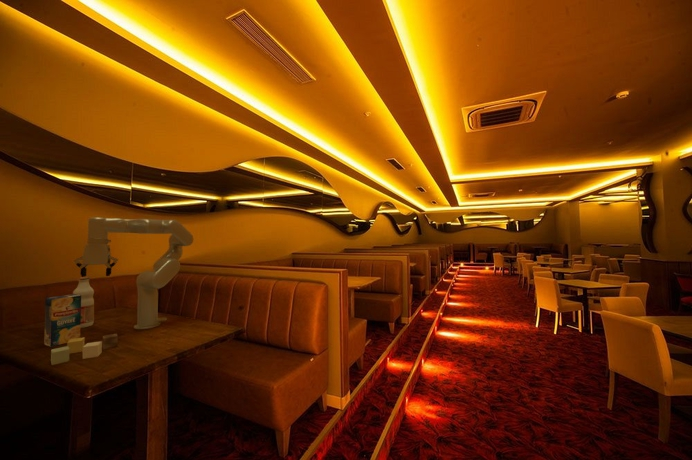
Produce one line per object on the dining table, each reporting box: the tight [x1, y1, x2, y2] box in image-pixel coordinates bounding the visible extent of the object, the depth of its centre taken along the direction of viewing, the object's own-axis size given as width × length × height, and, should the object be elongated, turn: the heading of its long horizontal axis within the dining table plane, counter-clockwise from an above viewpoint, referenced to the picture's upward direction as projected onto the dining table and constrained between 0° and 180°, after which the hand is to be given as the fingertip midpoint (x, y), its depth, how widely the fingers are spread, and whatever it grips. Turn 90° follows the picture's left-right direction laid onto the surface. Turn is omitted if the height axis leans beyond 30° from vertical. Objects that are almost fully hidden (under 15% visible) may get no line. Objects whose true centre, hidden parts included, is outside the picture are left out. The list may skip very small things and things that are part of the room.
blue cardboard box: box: [43, 293, 81, 348], centre depth 139 cm, size 7×11×22 cm, turn 155°
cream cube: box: [82, 340, 103, 360], centre depth 122 cm, size 5×5×5 cm
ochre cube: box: [66, 337, 86, 355], centre depth 127 cm, size 5×5×5 cm
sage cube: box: [50, 345, 70, 366], centre depth 117 cm, size 5×5×5 cm
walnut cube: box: [102, 332, 119, 350], centre depth 132 cm, size 5×5×5 cm
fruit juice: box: [72, 276, 95, 329], centre depth 164 cm, size 9×9×28 cm
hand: (96, 276), depth 141 cm, fingers open, 9 cm apart
